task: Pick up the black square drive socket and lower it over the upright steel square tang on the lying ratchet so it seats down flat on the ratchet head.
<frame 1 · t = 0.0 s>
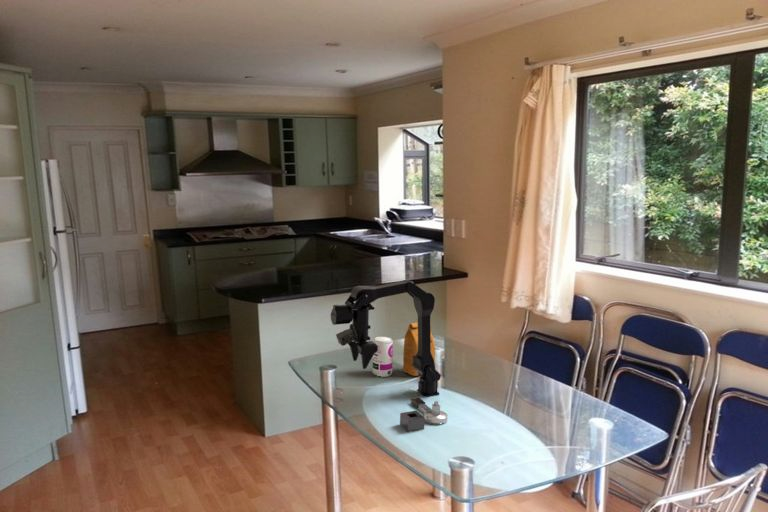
hand: (359, 364, 211), 15 cm above the table, tool pointing down, fingers open, 9 cm apart
coffee package: (419, 373, 246), on the table
socket: (412, 426, 195), on the table
ratchet: (435, 419, 201), on the table
supplement can: (382, 374, 244), on the table
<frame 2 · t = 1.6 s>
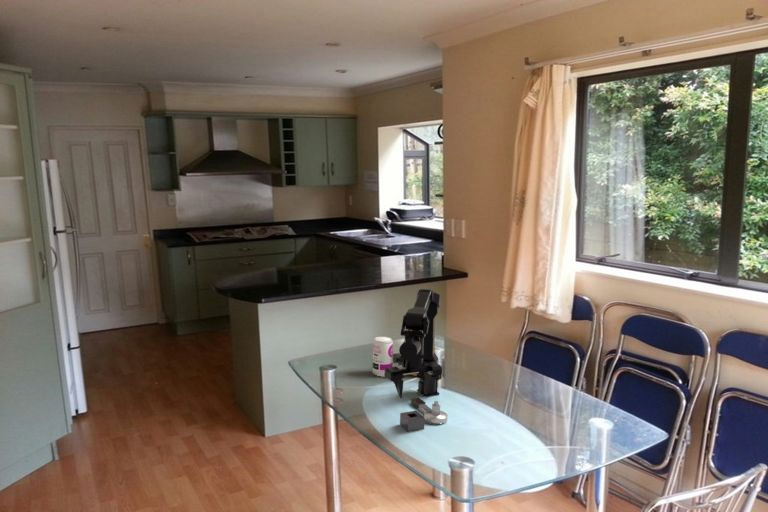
hand: (413, 396, 194), 11 cm above the table, tool pointing down, fingers open, 9 cm apart
nothing on the table moved.
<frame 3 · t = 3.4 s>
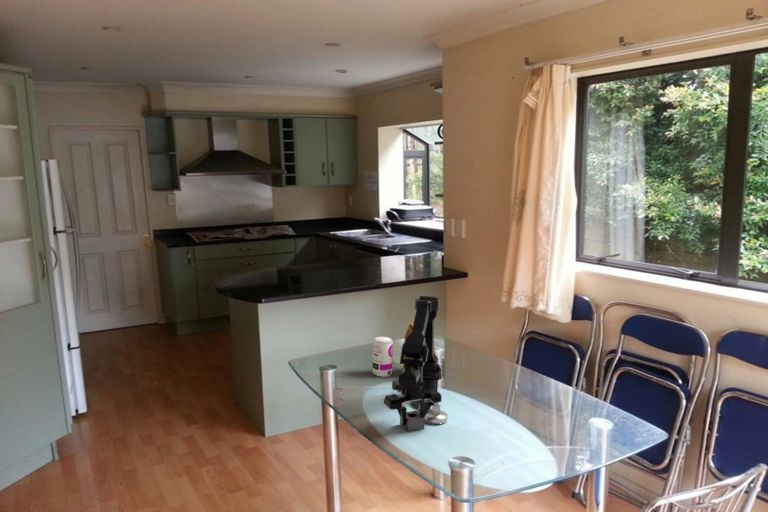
hand: (412, 423, 195), 1 cm above the table, tool pointing down, fingers closed on socket, 6 cm apart
socket: (412, 426, 195), on the table, touching gripper
everything else where it was.
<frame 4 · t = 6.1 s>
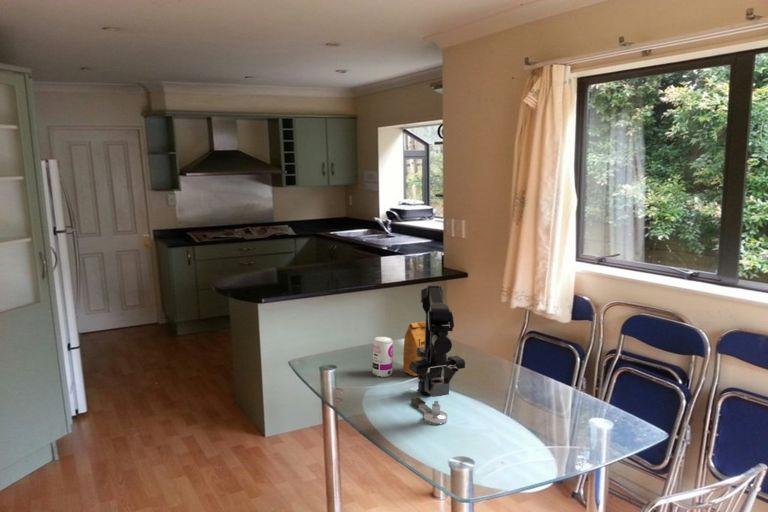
hand: (436, 389, 199), 11 cm above the table, tool pointing down, fingers closed on socket, 6 cm apart
socket: (436, 392, 200), point 10 cm above the table, touching gripper
everything else where it was.
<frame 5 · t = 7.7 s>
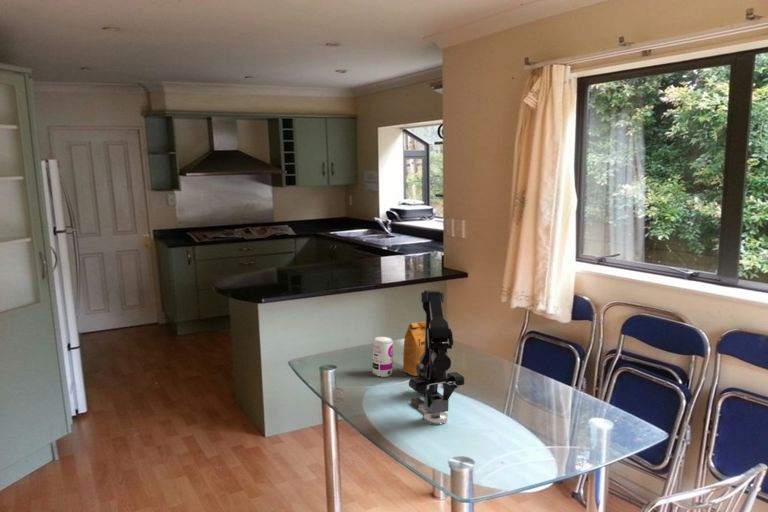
hand: (436, 405, 200), 5 cm above the table, tool pointing down, fingers closed on socket, 6 cm apart
socket: (436, 409, 201), point 4 cm above the table, touching gripper
everything else where it was.
when the fingers open (4 cm above the table, at t = 8.8 s): socket stays where it is, resting on ratchet.
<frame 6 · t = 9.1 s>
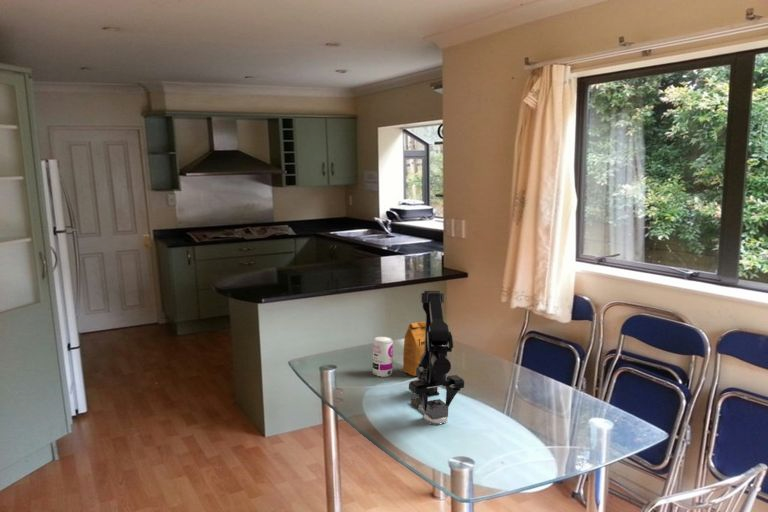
hand: (436, 408, 200), 4 cm above the table, tool pointing down, fingers open, 8 cm apart
socket: (435, 414, 201), point 2 cm above the table, touching ratchet
everything else where it was.
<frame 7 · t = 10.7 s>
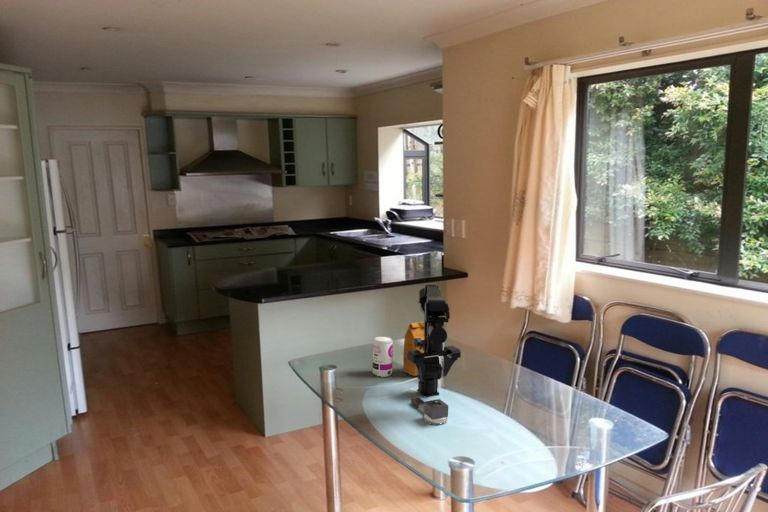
hand: (433, 377, 208), 12 cm above the table, tool pointing down, fingers open, 9 cm apart
nothing on the table moved.
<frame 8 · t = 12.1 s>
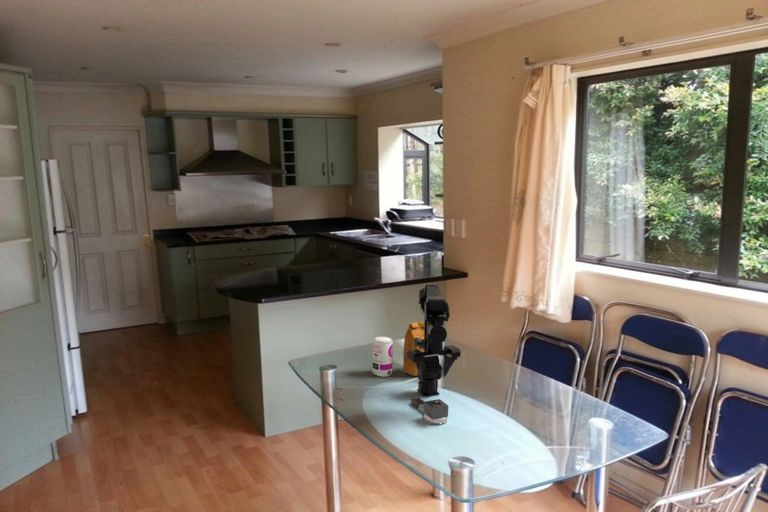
hand: (433, 377, 208), 12 cm above the table, tool pointing down, fingers open, 9 cm apart
nothing on the table moved.
at the end: socket 0.0 cm off-centre on the ratchet, point 1.8 cm above the ratchet's base; socket tilted 0°; the gripper is holding nothing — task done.
